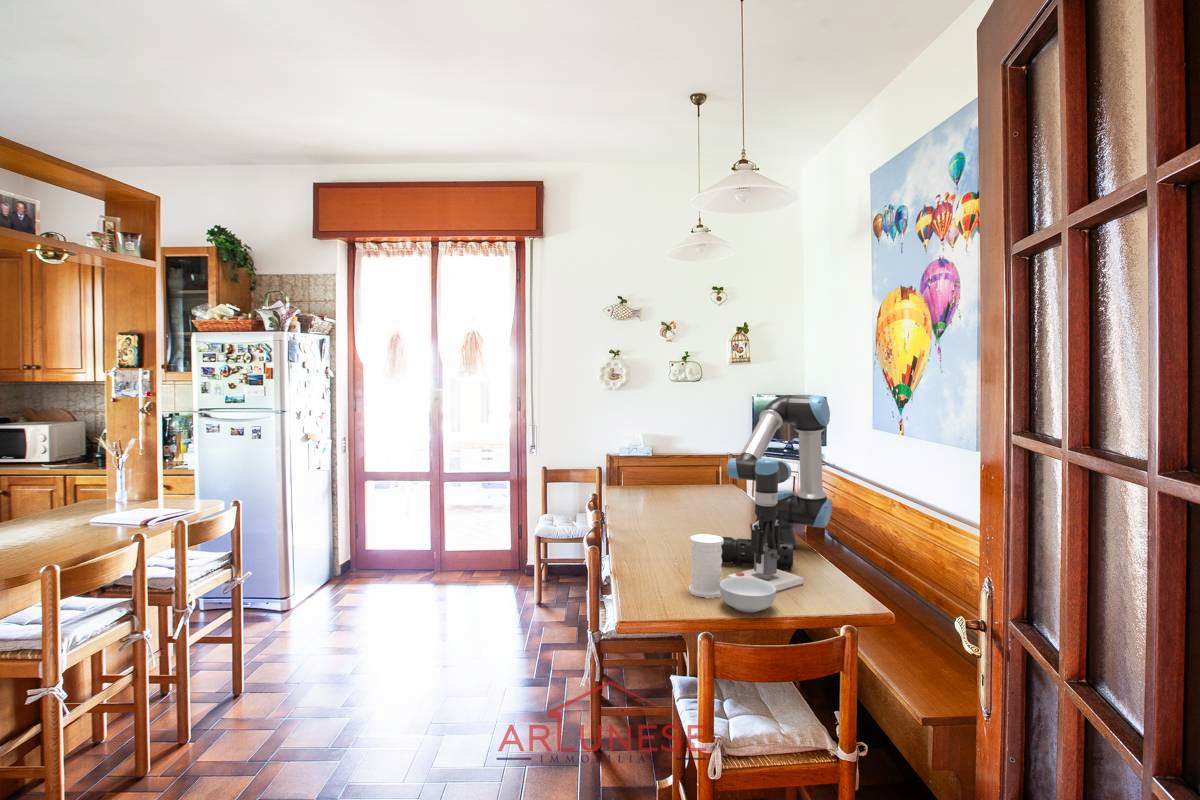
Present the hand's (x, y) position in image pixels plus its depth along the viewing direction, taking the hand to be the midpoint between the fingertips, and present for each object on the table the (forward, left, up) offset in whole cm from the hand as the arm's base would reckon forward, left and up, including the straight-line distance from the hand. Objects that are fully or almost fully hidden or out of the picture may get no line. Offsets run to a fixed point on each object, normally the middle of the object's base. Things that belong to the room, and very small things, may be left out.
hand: (765, 571), depth 208 cm
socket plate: (0, 0, -4) cm, 4 cm away
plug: (0, +1, 0) cm, 1 cm away
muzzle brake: (-12, -16, -5) cm, 21 cm away
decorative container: (+23, -5, -5) cm, 24 cm away
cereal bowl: (+22, +12, -5) cm, 25 cm away
